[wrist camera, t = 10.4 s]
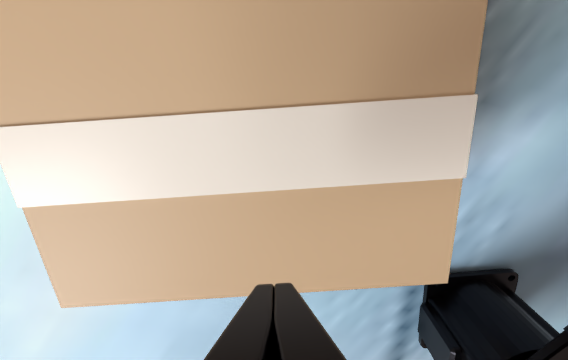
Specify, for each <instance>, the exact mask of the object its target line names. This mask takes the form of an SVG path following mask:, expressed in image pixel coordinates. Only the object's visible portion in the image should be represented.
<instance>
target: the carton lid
mask: <svg viewBox="0 0 568 360" xmlns="http://www.w3.org/2000/svg"><path fill="white" fill-rule="evenodd" d="M487 3H488V0H0V164H1V166H2V169H3V172H4V174H5V177H6V179H7V182H8V184H9V187H10V189H11V192H12V194H13V197H14V199H15V202H16V204H17V207H18V208H22V209H23V211H24V214H25V216H26V219H27V222H28V224H29V227H30V229H31V232H32V234H33V237H34V239H35V242H36V245H37V247H38V250H39V252H40V255H41V257H42V260H43V263H44V265H45V268H46V270H47V273H48V275H49V278H50V280H51V283H52V286H53V288H54V291H55V293H56V296H57V298H58V301H59V303H60V306H61V308H69V307H85V306H100V305H116V304H131V303H147V302H163V301H178V300H194V299H210V298H225V297H241V296H249V295H250V293H251V292H252V290H253V289H254V288H255V286H256V285H259V284H273V285H275V284H276V283H292V284H293V286H294V287H295V288H296V290H297V291H298V293H303V292H319V291H334V290H350V289H366V288H381V287H397V286H412V285H428V284H444V283H448V278H449V271H450V264H451V257H452V250H453V243H454V236H455V229H456V222H457V215H458V208H459V201H460V194H461V187H462V180H463V178H466V174H467V167H468V160H469V154H470V147H471V140H472V133H473V126H474V119H475V112H476V105H477V99H478V94H475V88H476V81H477V74H478V67H479V59H480V52H481V45H482V38H483V31H484V24H485V17H486V10H487Z"/></svg>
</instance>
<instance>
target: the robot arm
mask: <svg viewBox="0 0 568 360" xmlns="http://www.w3.org/2000/svg"><path fill="white" fill-rule="evenodd" d="M517 282H518V274H517V273H516V272H515V271H513V270H512V269H500V270H488V271H475V272H463V273H450V274H449V278H448V283H444V284H428V285H425V286H424V295H423V303H422V304H421V306H420V315H419V324H418V332H419V343H420V345H421V346H422V347H423V348H428V350H429V352H430V353H431V355H432V357H433V359H434V360H568V325H567V326H566V327H565V328H563V329H564V331H563V332H562V333H558V332H557V331H556V330H555V329H554V328H553V327H552V326H551V325H550V324H548V323H547V322H546V321H545V320H544V319H543V318H542V317H541V316H540V315H538V314H537V313H536V312H535V311H534V310H533V309H532V308H531V307H529V306H528V305H527V304H526V303H525V302H524V301H523V300H522V299H521V298H519V297H518V296H517V295H516V294H515V290H516V286H517ZM204 360H346V358H345V357H344V355H343V354H342V353H341V351H340V350H339V349H338V347H337V346H336V344H335V343H334V342H333V340H332V339H331V337H330V336H329V335H328V333H327V332H326V330H325V329H324V328H323V326H322V325H321V323H320V322H319V321H318V319H317V318H316V316H315V315H314V314H313V312H312V311H311V309H310V308H309V307H308V305H307V304H306V302H305V301H304V300H303V298H302V297H301V295H300V294H299V293H298V291H297V290H296V288H295V287H294V286H293V284H292V283H276V284H275V285H273V284H259V285H256V286H255V288H254V289H253V290H252V292H251V293H250V295H249V296H248V298H247V299H246V300H245V302H244V303H243V305H242V306H241V307H240V309H239V310H238V312H237V313H236V315H235V316H234V317H233V319H232V320H231V322H230V323H229V325H228V326H227V327H226V329H225V330H224V332H223V333H222V334H221V336H220V337H219V339H218V340H217V342H216V343H215V344H214V346H213V347H212V349H211V350H210V352H209V353H208V354H207V356H206V357H205V359H204Z"/></svg>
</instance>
